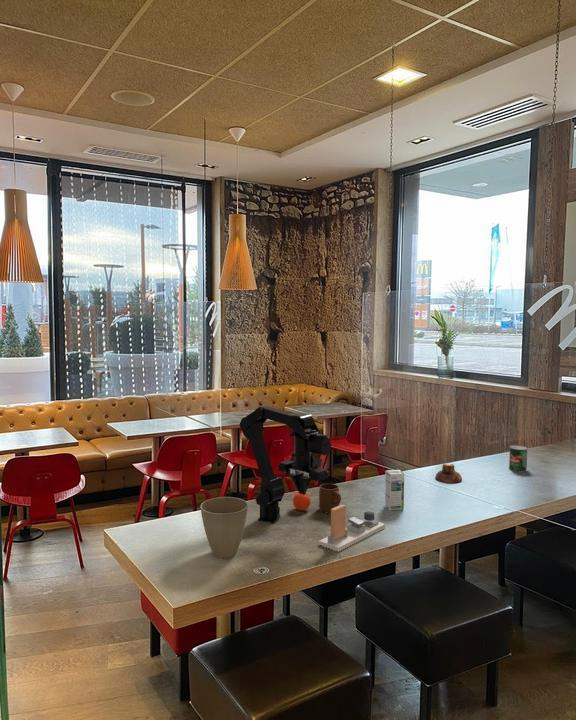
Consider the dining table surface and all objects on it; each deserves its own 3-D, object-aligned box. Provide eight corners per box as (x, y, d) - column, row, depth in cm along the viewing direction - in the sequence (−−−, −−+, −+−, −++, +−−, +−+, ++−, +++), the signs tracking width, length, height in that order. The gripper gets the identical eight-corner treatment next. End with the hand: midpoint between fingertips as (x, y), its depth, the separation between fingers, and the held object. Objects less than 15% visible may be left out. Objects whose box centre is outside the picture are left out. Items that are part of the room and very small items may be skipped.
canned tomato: (526, 468, 276) (527, 446, 275) (526, 472, 269) (527, 450, 268) (509, 466, 280) (510, 444, 279) (508, 470, 273) (509, 448, 271)
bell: (430, 480, 258) (431, 464, 257) (442, 474, 267) (442, 459, 267) (455, 485, 251) (455, 469, 250) (466, 479, 260) (466, 463, 259)
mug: (348, 515, 214) (348, 491, 213) (330, 519, 210) (331, 494, 209) (332, 505, 224) (332, 482, 223) (315, 508, 221) (315, 484, 220)
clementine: (310, 505, 224) (310, 488, 223) (315, 512, 217) (315, 494, 217) (290, 507, 222) (291, 489, 222) (294, 513, 216) (295, 495, 215)
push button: (362, 518, 201) (362, 513, 201) (367, 516, 204) (367, 510, 204) (370, 521, 199) (370, 515, 198) (376, 518, 201) (376, 513, 201)
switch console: (319, 545, 187) (319, 533, 187) (366, 522, 207) (366, 511, 207) (338, 552, 182) (338, 540, 182) (384, 528, 202) (385, 517, 201)
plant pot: (192, 550, 183) (192, 502, 181) (233, 540, 191) (233, 493, 190) (214, 568, 171) (214, 517, 169) (257, 556, 179) (256, 506, 178)
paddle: (330, 540, 186) (330, 509, 185) (341, 535, 191) (342, 504, 190) (334, 542, 185) (334, 510, 184) (345, 536, 190) (345, 505, 189)
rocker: (348, 522, 196) (348, 519, 195) (353, 520, 198) (353, 516, 198) (358, 528, 193) (359, 524, 193) (363, 525, 195) (364, 522, 195)
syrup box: (389, 510, 219) (390, 473, 218) (384, 505, 225) (385, 469, 223) (403, 510, 220) (404, 473, 218) (398, 504, 226) (399, 468, 224)
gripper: (338, 450, 196) (337, 494, 198) (297, 441, 209) (297, 483, 211) (317, 457, 188) (317, 502, 190) (277, 447, 201) (277, 490, 202)
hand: (302, 494), depth 198 cm, fingers closed
